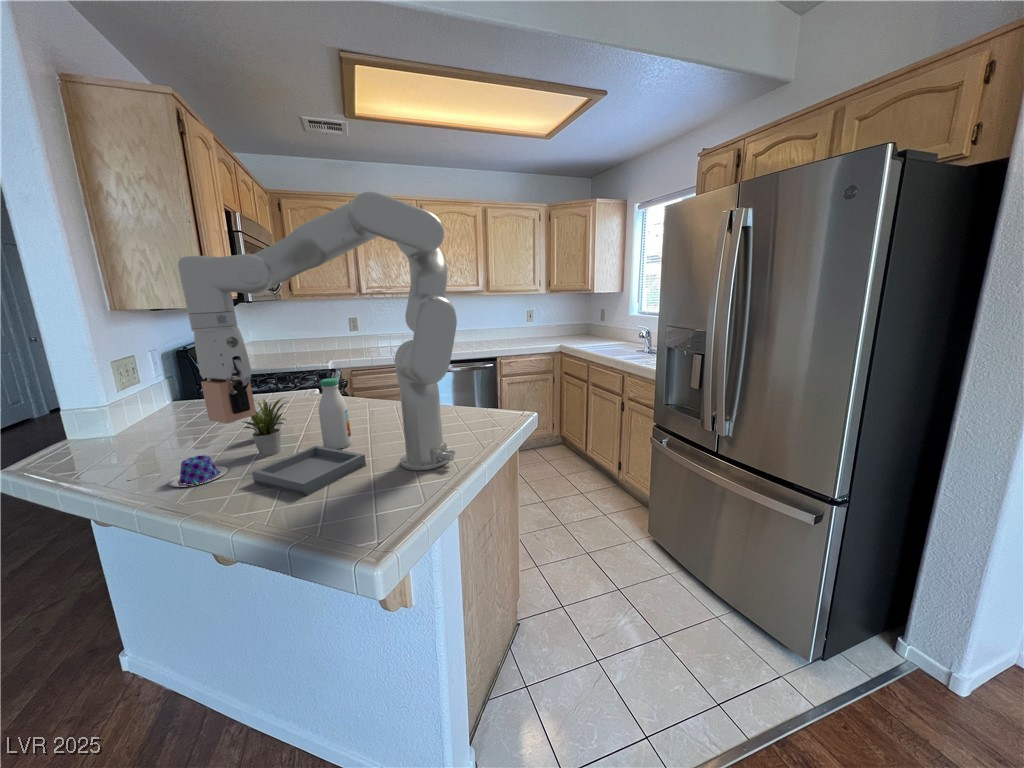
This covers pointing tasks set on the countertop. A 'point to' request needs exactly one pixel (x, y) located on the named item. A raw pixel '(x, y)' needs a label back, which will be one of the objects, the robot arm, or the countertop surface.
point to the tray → (309, 470)
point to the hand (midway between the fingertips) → (231, 409)
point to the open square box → (224, 401)
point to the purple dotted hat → (198, 470)
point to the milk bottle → (334, 416)
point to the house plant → (267, 429)
